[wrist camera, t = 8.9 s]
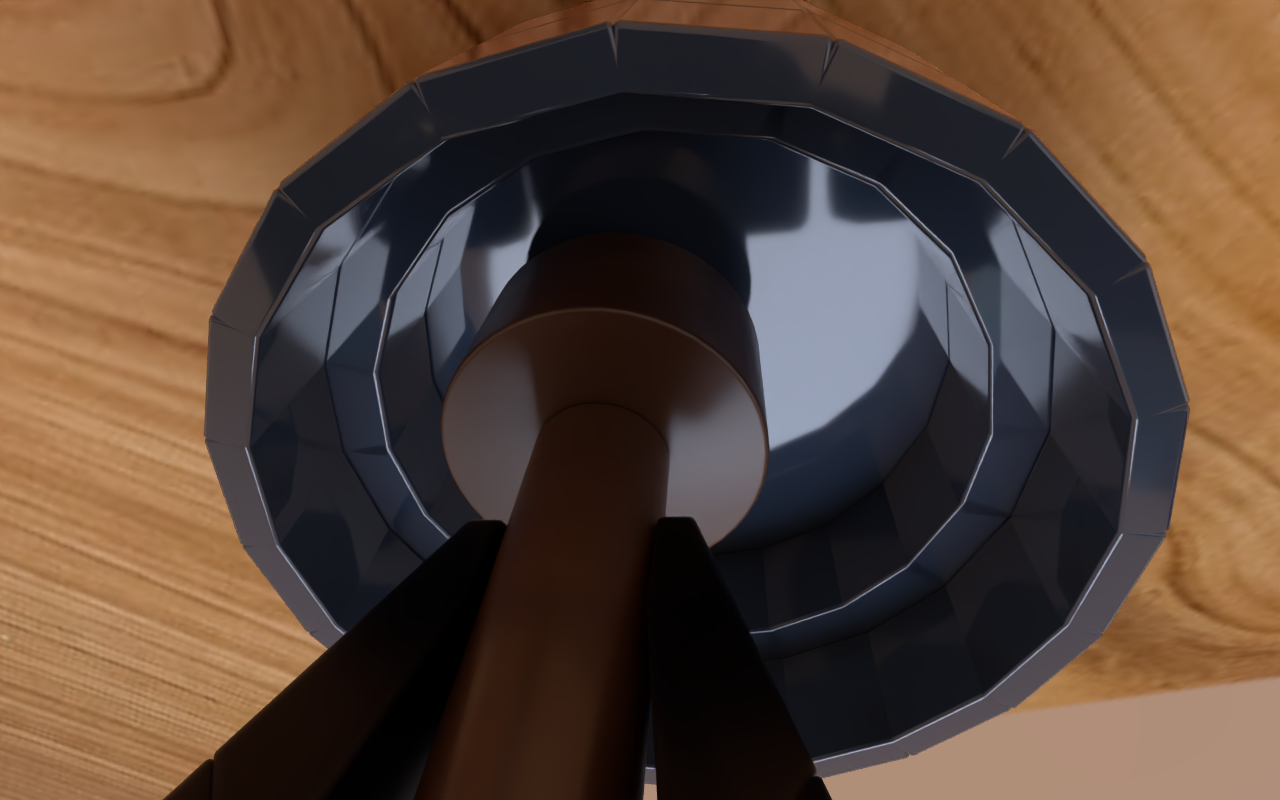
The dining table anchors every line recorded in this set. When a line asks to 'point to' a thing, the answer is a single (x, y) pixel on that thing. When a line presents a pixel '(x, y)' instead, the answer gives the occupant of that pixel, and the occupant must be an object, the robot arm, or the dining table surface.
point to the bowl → (787, 336)
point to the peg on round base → (588, 503)
